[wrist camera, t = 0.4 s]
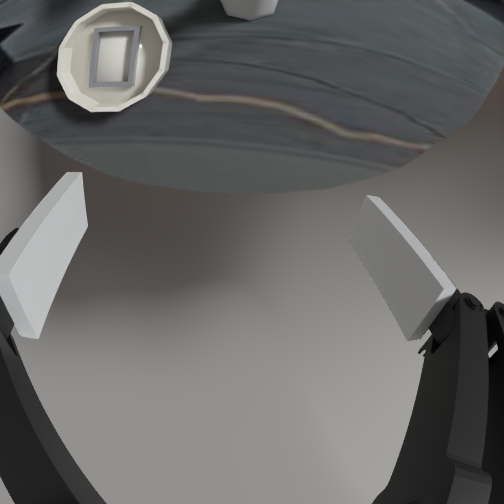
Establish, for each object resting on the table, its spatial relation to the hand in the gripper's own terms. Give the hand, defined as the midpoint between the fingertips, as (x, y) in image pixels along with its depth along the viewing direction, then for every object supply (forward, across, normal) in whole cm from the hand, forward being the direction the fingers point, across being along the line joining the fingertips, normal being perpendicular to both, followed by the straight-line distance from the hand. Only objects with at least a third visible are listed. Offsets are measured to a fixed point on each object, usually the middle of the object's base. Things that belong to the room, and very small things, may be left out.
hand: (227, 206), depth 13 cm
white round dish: (+26, -13, +6) cm, 30 cm away
